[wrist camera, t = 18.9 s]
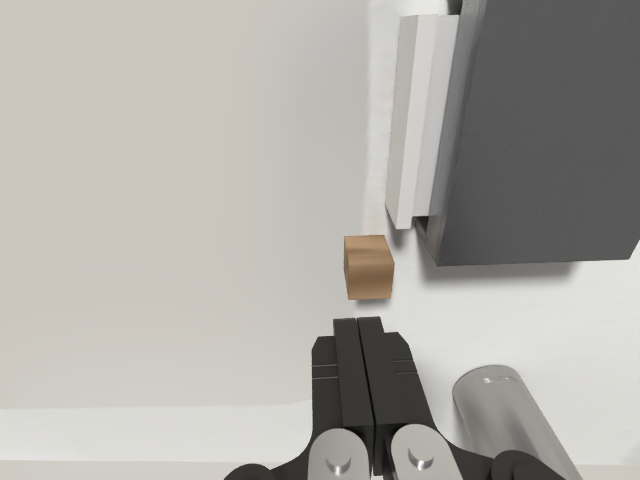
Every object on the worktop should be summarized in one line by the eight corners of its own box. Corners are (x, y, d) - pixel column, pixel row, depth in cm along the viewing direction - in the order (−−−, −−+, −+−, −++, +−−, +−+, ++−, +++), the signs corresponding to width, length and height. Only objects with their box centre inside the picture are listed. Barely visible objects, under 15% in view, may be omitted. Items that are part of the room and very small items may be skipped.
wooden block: (381, 267, 37) (390, 298, 33) (343, 268, 37) (348, 299, 33) (383, 235, 35) (394, 263, 31) (344, 236, 35) (349, 265, 31)
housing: (573, 219, 35) (629, 259, 29) (414, 225, 35) (437, 266, 29) (675, -32, 25) (793, -52, 19) (449, -27, 24) (495, -45, 18)
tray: (570, 198, 33) (607, 221, 29) (385, 204, 33) (396, 229, 29) (641, 11, 26) (705, 7, 22) (400, 17, 25) (418, 15, 21)
